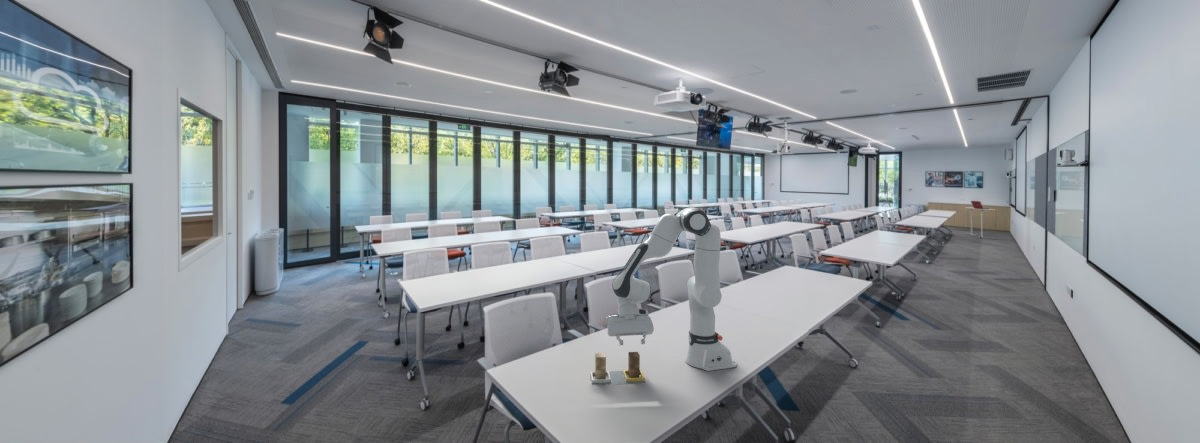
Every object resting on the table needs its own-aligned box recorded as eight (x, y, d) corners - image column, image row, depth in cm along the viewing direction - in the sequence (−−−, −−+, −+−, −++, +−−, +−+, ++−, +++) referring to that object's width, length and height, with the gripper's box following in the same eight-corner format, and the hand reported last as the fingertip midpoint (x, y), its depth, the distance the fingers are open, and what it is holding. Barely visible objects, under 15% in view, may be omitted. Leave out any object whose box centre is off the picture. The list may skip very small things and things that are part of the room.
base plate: (640, 372, 187) (640, 367, 187) (646, 385, 175) (646, 380, 175) (589, 374, 185) (589, 369, 185) (592, 388, 173) (592, 382, 173)
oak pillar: (604, 375, 182) (604, 352, 181) (605, 380, 178) (605, 356, 177) (595, 376, 181) (595, 353, 180) (596, 380, 177) (596, 357, 176)
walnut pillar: (637, 374, 183) (637, 351, 182) (639, 378, 179) (639, 355, 178) (628, 374, 183) (628, 352, 182) (629, 379, 179) (630, 356, 178)
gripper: (605, 312, 190) (608, 342, 182) (651, 310, 192) (656, 339, 184) (604, 319, 195) (607, 348, 186) (649, 317, 197) (654, 346, 189)
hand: (632, 344), depth 185 cm, fingers open, 8 cm apart
